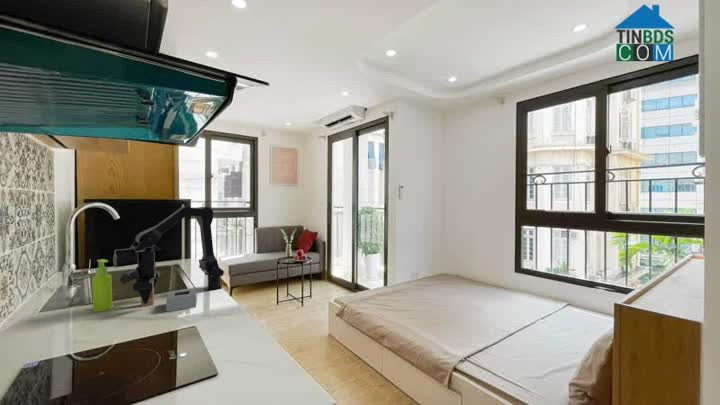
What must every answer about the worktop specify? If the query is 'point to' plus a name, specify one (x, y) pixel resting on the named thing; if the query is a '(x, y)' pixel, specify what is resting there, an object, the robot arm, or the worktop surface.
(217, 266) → the robot arm
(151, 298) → the tan rectangular block
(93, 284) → the soap dispenser
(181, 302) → the grey square socket block
